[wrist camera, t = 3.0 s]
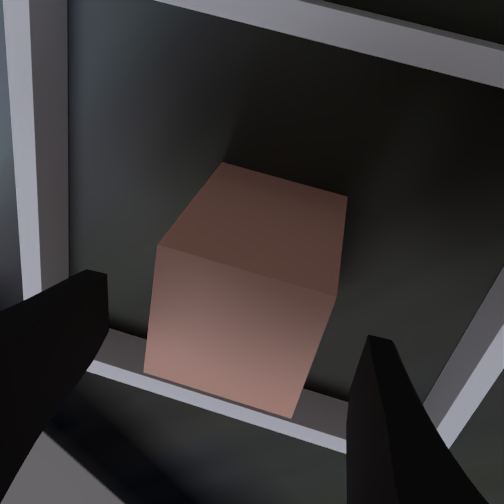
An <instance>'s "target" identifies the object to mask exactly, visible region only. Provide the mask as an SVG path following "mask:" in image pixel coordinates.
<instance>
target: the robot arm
mask: <svg viewBox="0 0 504 504" xmlns="http://www.w3.org/2000/svg"><path fill="white" fill-rule="evenodd" d="M108 332H109V312H108V287H107V274H105V273H100V272H96V271H92V270H87V269H86V270H84V271H82V272H79V273H77V274H75V275H73V276H71V277H69V278H67V279H65V280H63V281H61V282H60V283H58V284H56V285H54V286H52V287H50V288H48V289H46V290H44V291H42V292H40V293H38V294H36V295H34V296H32V297H30V298H28V299H26V300H24V301H22V302H20V303H18V304H16V305H14V306H11V307H9V308H7V309H5V310H3V311H0V503H1V501H2V500H3V498H4V496H5V494H6V492H7V491H8V489H9V487H10V485H11V483H12V482H13V480H14V478H15V476H16V474H17V473H18V471H19V469H20V467H21V466H22V464H23V462H24V460H25V459H26V457H27V455H28V454H29V452H30V450H31V449H32V447H33V445H34V443H35V442H36V440H37V439H38V437H39V436H40V434H41V433H42V431H43V430H44V428H45V427H46V425H47V424H48V423H49V421H50V420H51V419H52V417H53V416H54V414H55V413H56V412H57V410H58V409H59V408H60V406H61V405H62V403H63V402H64V401H65V399H66V398H67V397H68V395H69V394H70V393H71V391H72V390H73V388H74V387H75V386H76V384H77V383H78V382H79V380H80V379H81V377H82V376H83V375H84V373H85V372H86V370H87V369H88V368H89V366H90V365H91V363H92V362H93V360H94V358H95V357H96V355H97V353H98V351H99V349H100V348H101V346H102V344H103V342H104V340H105V338H106V336H107V334H108ZM346 465H347V504H489V503H488V502H487V501H486V500H485V499H484V497H483V496H482V495H481V494H480V492H479V491H478V490H477V489H476V487H475V486H474V485H473V483H472V482H471V481H470V479H469V478H468V477H467V475H466V474H465V472H464V471H463V470H462V468H461V467H460V465H459V464H458V462H457V461H456V460H455V458H454V457H453V455H452V454H451V452H450V450H449V449H448V447H447V446H446V444H445V443H444V441H443V439H442V438H441V436H440V434H439V433H438V431H437V429H436V428H435V426H434V424H433V423H432V421H431V419H430V417H429V415H428V414H427V412H426V410H425V408H424V406H423V404H422V402H421V400H420V398H419V397H418V395H417V393H416V391H415V389H414V387H413V385H412V383H411V381H410V378H409V376H408V374H407V372H406V370H405V368H404V365H403V363H402V361H401V358H400V356H399V354H398V351H397V349H396V346H395V344H394V343H393V341H392V340H389V339H385V338H380V337H376V336H372V335H368V337H367V340H366V343H365V346H364V349H363V352H362V355H361V358H360V361H359V364H358V367H357V370H356V373H355V376H354V379H353V382H352V385H351V388H350V393H349V402H348V411H347V422H346Z"/></svg>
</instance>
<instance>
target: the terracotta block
mask: <svg viewBox="0 0 504 504" xmlns="http://www.w3.org/2000/svg"><path fill="white" fill-rule="evenodd" d="M347 199H348V197H347V196H343V195H340V194H336V193H333V192H329V191H325V190H322V189H318V188H314V187H311V186H307V185H304V184H300V183H296V182H293V181H289V180H286V179H282V178H278V177H275V176H271V175H267V174H264V173H260V172H257V171H253V170H249V169H246V168H242V167H238V166H235V165H231V164H228V163H224V162H222V163H221V164H220V165H219V166H218V168H217V169H216V170H215V171H214V173H213V174H212V175H211V177H210V178H209V179H208V180H207V182H206V183H205V184H204V186H203V187H202V188H201V189H200V191H199V192H198V193H197V195H196V196H195V197H194V198H193V200H192V201H191V202H190V204H189V205H188V206H187V207H186V209H185V210H184V211H183V212H182V214H181V215H180V216H179V218H178V219H177V220H176V221H175V223H174V224H173V225H172V227H171V228H170V229H169V230H168V232H167V233H166V234H165V236H164V237H163V238H162V239H161V241H160V242H159V243H158V244H157V253H156V262H155V271H154V280H153V289H152V298H151V308H150V317H149V326H148V335H147V344H146V353H145V362H144V371H143V372H144V373H148V374H151V375H154V376H157V377H160V378H163V379H167V380H170V381H173V382H176V383H179V384H182V385H186V386H189V387H192V388H195V389H198V390H201V391H205V392H208V393H211V394H214V395H217V396H220V397H224V398H227V399H230V400H233V401H236V402H240V403H243V404H246V405H249V406H252V407H255V408H259V409H262V410H265V411H268V412H271V413H274V414H278V415H281V416H284V417H287V418H290V419H291V418H292V415H293V413H294V410H295V407H296V405H297V402H298V399H299V397H300V394H301V391H302V389H303V386H304V383H305V381H306V378H307V375H308V373H309V370H310V367H311V365H312V362H313V359H314V357H315V354H316V351H317V349H318V346H319V343H320V341H321V338H322V335H323V333H324V330H325V327H326V325H327V322H328V319H329V317H330V314H331V311H332V308H333V306H334V303H335V300H336V298H337V290H338V281H339V272H340V263H341V254H342V245H343V235H344V226H345V217H346V208H347Z"/></svg>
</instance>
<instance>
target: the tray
mask: <svg viewBox="0 0 504 504" xmlns="http://www.w3.org/2000/svg"><path fill="white" fill-rule="evenodd" d="M155 1H159V2H163V3H167V4H171V5H175V6H179V7H183V8H187V9H191V10H195V11H199V12H203V13H207V14H211V15H215V16H219V17H223V18H227V19H230V20H234V21H238V22H242V23H246V24H250V25H254V26H258V27H262V28H266V29H270V30H274V31H278V32H282V33H286V34H290V35H294V36H298V37H302V38H306V39H310V40H313V41H317V42H321V43H325V44H329V45H333V46H337V47H341V48H345V49H349V50H353V51H357V52H361V53H365V54H369V55H373V56H377V57H381V58H385V59H389V60H393V61H396V62H400V63H404V64H408V65H412V66H416V67H420V68H424V69H428V70H432V71H436V72H440V73H444V74H448V75H452V76H456V77H460V78H464V79H468V80H472V81H476V82H479V83H483V84H487V85H491V86H495V87H499V88H503V89H504V45H502V44H498V43H493V42H489V41H485V40H481V39H477V38H473V37H469V36H465V35H461V34H457V33H453V32H449V31H445V30H441V29H437V28H433V27H428V26H424V25H420V24H416V23H412V22H408V21H404V20H400V19H396V18H392V17H388V16H384V15H380V14H376V13H372V12H368V11H363V10H359V9H355V8H351V7H347V6H343V5H339V4H335V3H331V2H327V1H323V0H155ZM3 10H4V25H5V39H6V53H7V68H8V82H9V96H10V110H11V125H12V139H13V153H14V168H15V182H16V196H17V210H18V225H19V239H20V253H21V268H22V282H23V296H24V300H26V299H28V298H30V297H32V296H34V295H36V294H38V293H40V292H42V291H44V290H46V289H48V288H50V287H52V286H54V285H56V284H58V283H60V282H61V281H63V280H65V279H67V278H69V229H68V50H67V0H3ZM146 344H147V340H146V339H143V338H140V337H136V336H133V335H130V334H127V333H123V332H120V331H117V330H114V329H111V328H109V332H108V334H107V336H106V338H105V340H104V342H103V344H102V346H101V348H100V349H99V351H98V353H97V355H96V357H95V358H94V360H93V362H92V363H91V365H90V366H89V368H88V369H87V370H86V371H88V372H91V373H94V374H98V375H101V376H104V377H107V378H110V379H113V380H116V381H120V382H123V383H126V384H129V385H132V386H135V387H138V388H141V389H145V390H148V391H151V392H154V393H157V394H160V395H163V396H167V397H170V398H173V399H176V400H179V401H182V402H185V403H189V404H192V405H195V406H198V407H201V408H204V409H207V410H210V411H214V412H217V413H220V414H223V415H226V416H229V417H232V418H236V419H239V420H242V421H245V422H248V423H251V424H254V425H257V426H261V427H264V428H267V429H270V430H273V431H276V432H279V433H283V434H286V435H289V436H292V437H295V438H298V439H301V440H304V441H308V442H311V443H314V444H317V445H320V446H323V447H326V448H330V449H333V450H336V451H339V452H342V453H345V454H346V422H347V411H348V402H346V401H342V400H339V399H336V398H333V397H330V396H326V395H323V394H320V393H317V392H313V391H310V390H307V389H304V388H303V389H302V391H301V394H300V397H299V399H298V402H297V405H296V407H295V410H294V413H293V415H292V418H291V419H290V418H287V417H284V416H281V415H278V414H274V413H271V412H268V411H265V410H262V409H259V408H255V407H252V406H249V405H246V404H243V403H240V402H236V401H233V400H230V399H227V398H224V397H220V396H217V395H214V394H211V393H208V392H205V391H201V390H198V389H195V388H192V387H189V386H186V385H182V384H179V383H176V382H173V381H170V380H167V379H163V378H160V377H157V376H154V375H151V374H148V373H144V372H143V371H144V362H145V353H146ZM503 369H504V267H503V268H502V270H501V272H500V273H499V275H498V277H497V279H496V280H495V282H494V284H493V285H492V287H491V289H490V291H489V292H488V294H487V296H486V297H485V299H484V301H483V302H482V304H481V306H480V308H479V309H478V311H477V313H476V314H475V316H474V318H473V320H472V321H471V323H470V325H469V326H468V328H467V330H466V331H465V333H464V335H463V337H462V338H461V340H460V342H459V343H458V345H457V347H456V349H455V350H454V352H453V354H452V355H451V357H450V359H449V360H448V362H447V364H446V366H445V367H444V369H443V371H442V372H441V374H440V376H439V378H438V379H437V381H436V383H435V384H434V386H433V388H432V389H431V391H430V393H429V395H428V396H427V398H426V400H425V401H424V403H423V406H424V408H425V410H426V412H427V414H428V415H429V417H430V419H431V421H432V423H433V424H434V426H435V428H436V429H437V431H438V433H439V434H440V436H441V438H442V439H443V441H444V443H445V444H446V446H447V447H448V449H449V448H450V446H451V445H452V444H453V442H454V441H455V439H456V438H457V436H458V435H459V433H460V432H461V430H462V429H463V427H464V426H465V424H466V423H467V421H468V420H469V419H470V417H471V416H472V414H473V413H474V411H475V410H476V408H477V407H478V405H479V404H480V402H481V401H482V399H483V398H484V397H485V395H486V394H487V392H488V391H489V389H490V388H491V386H492V385H493V383H494V382H495V380H496V379H497V377H498V376H499V374H500V373H501V372H502V370H503Z"/></svg>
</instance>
